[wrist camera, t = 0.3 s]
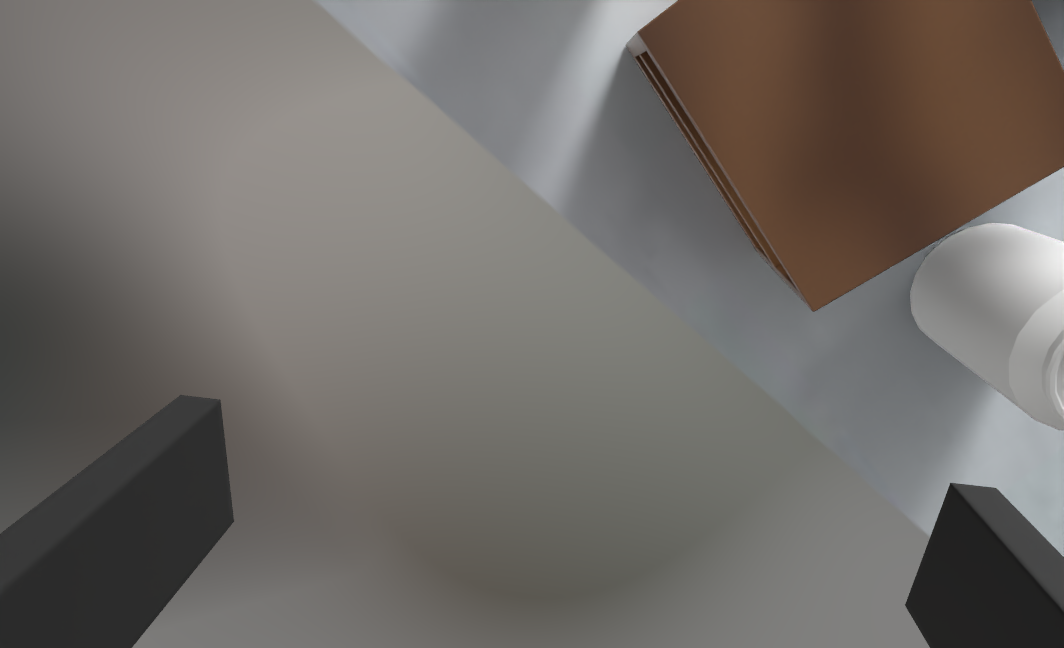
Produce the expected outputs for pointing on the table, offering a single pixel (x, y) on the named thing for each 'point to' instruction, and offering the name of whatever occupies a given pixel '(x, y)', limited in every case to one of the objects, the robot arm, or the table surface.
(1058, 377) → the can
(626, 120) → the table surface
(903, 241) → the brown square box
